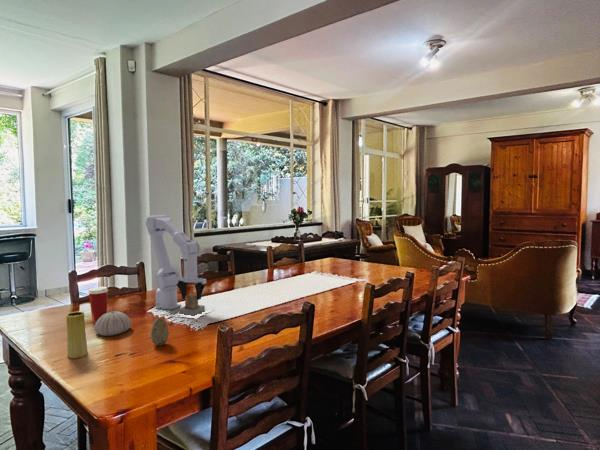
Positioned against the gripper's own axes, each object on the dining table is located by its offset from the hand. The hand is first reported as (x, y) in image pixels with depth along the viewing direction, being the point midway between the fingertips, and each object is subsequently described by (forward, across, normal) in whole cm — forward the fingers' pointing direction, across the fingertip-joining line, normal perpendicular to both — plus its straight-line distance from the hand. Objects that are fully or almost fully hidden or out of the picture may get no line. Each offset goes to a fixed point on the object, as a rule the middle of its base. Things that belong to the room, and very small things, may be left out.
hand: (191, 298), depth 183 cm
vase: (+7, -10, -52) cm, 53 cm away
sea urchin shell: (+7, -16, -30) cm, 35 cm away
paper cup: (+7, -32, -21) cm, 39 cm away
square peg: (+6, 0, 0) cm, 6 cm away
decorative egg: (+7, +11, -36) cm, 38 cm away
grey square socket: (+7, 0, 0) cm, 7 cm away
